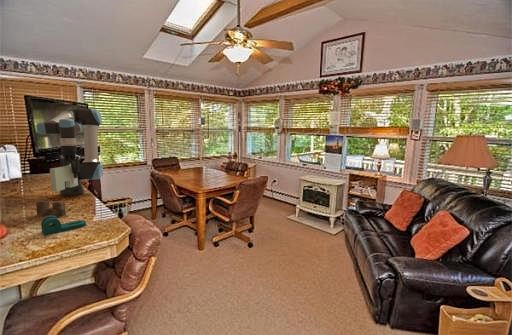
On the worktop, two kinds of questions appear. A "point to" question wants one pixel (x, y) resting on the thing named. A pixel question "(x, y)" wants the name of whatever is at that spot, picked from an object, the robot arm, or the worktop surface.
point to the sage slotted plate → (61, 178)
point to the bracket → (59, 225)
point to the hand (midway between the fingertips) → (71, 183)
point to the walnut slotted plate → (44, 209)
